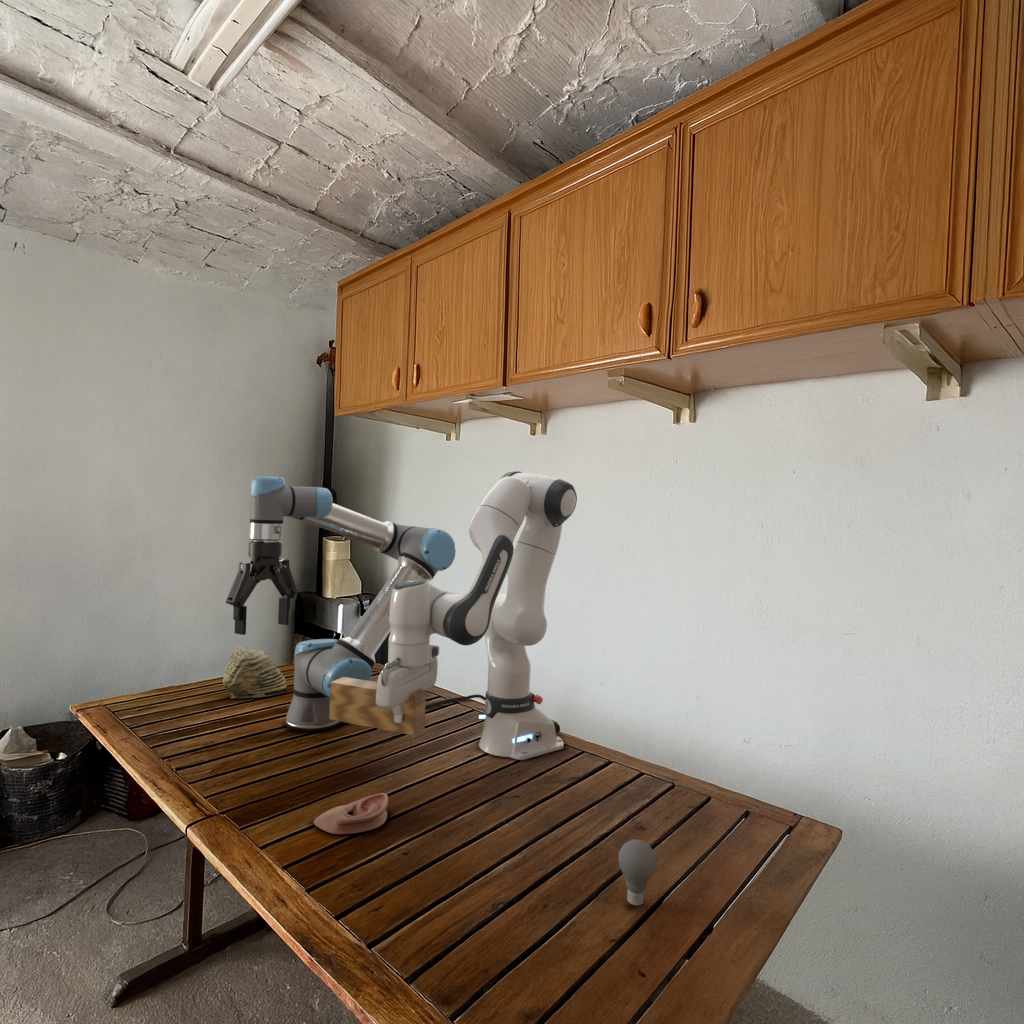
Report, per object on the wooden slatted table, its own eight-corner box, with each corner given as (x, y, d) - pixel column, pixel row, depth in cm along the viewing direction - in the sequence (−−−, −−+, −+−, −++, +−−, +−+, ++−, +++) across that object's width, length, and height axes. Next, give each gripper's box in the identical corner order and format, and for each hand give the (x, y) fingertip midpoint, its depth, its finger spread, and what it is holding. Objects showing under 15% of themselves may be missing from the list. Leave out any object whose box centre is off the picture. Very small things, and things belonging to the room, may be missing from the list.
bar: (329, 719, 142) (330, 682, 142) (342, 712, 147) (343, 676, 146) (413, 735, 134) (414, 696, 134) (424, 728, 139) (426, 689, 139)
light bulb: (612, 891, 105) (615, 832, 105) (647, 891, 106) (650, 832, 105) (621, 915, 99) (624, 852, 99) (659, 914, 100) (662, 852, 99)
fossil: (218, 695, 195) (220, 647, 195) (278, 685, 208) (279, 640, 207) (228, 703, 189) (230, 653, 188) (289, 692, 201) (290, 645, 201)
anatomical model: (306, 809, 120) (334, 783, 131) (305, 829, 120) (334, 802, 131) (371, 819, 117) (395, 791, 129) (370, 840, 117) (394, 811, 129)
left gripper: (235, 544, 139) (232, 640, 139) (313, 539, 162) (310, 622, 162) (210, 542, 142) (207, 636, 142) (291, 537, 165) (288, 619, 165)
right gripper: (396, 667, 127) (394, 735, 127) (443, 645, 146) (441, 705, 146) (369, 663, 129) (367, 730, 129) (418, 642, 148) (417, 701, 148)
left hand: (262, 629), depth 152 cm, fingers open, 13 cm apart
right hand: (406, 717), depth 138 cm, fingers closed on bar, 5 cm apart
